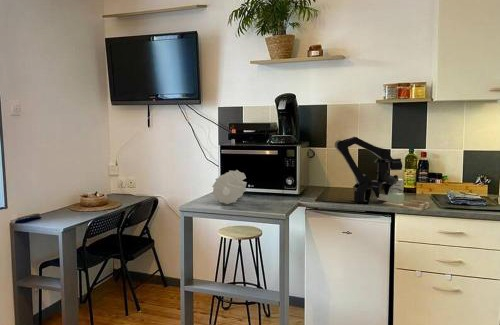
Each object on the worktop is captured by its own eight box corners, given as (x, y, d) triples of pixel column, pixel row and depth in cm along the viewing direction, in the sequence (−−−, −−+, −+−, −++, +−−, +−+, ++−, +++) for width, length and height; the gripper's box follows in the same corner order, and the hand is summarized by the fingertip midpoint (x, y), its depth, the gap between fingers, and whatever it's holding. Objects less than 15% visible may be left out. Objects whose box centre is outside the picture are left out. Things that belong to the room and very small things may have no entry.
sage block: (399, 203, 216) (399, 194, 215) (375, 199, 227) (376, 191, 227) (403, 202, 219) (404, 193, 219) (380, 198, 230) (380, 190, 230)
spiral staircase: (219, 211, 223) (228, 200, 247) (246, 199, 219) (252, 189, 243) (204, 183, 221) (215, 175, 246) (231, 170, 217) (239, 163, 242)
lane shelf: (419, 210, 204) (420, 205, 203) (383, 204, 220) (383, 199, 219) (430, 207, 211) (430, 202, 211) (394, 201, 227) (394, 196, 227)
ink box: (386, 197, 237) (387, 178, 235) (387, 196, 241) (388, 177, 240) (401, 199, 233) (402, 179, 231) (402, 197, 237) (403, 178, 236)
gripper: (386, 173, 213) (386, 201, 214) (404, 170, 225) (403, 196, 226) (369, 171, 221) (368, 198, 223) (386, 168, 233) (385, 193, 235)
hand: (382, 196), depth 227 cm, fingers open, 9 cm apart
